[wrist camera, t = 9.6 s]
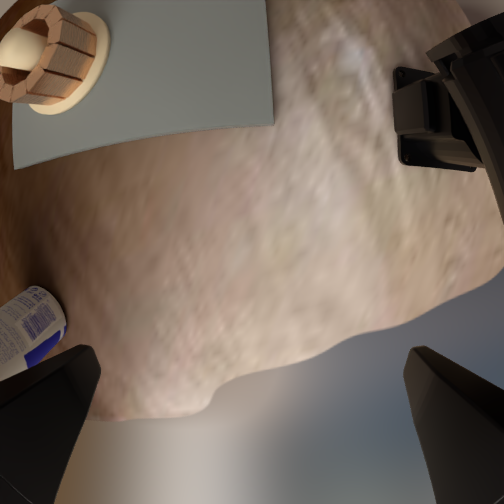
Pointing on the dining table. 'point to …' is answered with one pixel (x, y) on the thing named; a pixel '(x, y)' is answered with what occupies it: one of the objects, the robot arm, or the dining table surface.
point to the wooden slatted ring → (51, 58)
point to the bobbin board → (149, 75)
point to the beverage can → (28, 330)
